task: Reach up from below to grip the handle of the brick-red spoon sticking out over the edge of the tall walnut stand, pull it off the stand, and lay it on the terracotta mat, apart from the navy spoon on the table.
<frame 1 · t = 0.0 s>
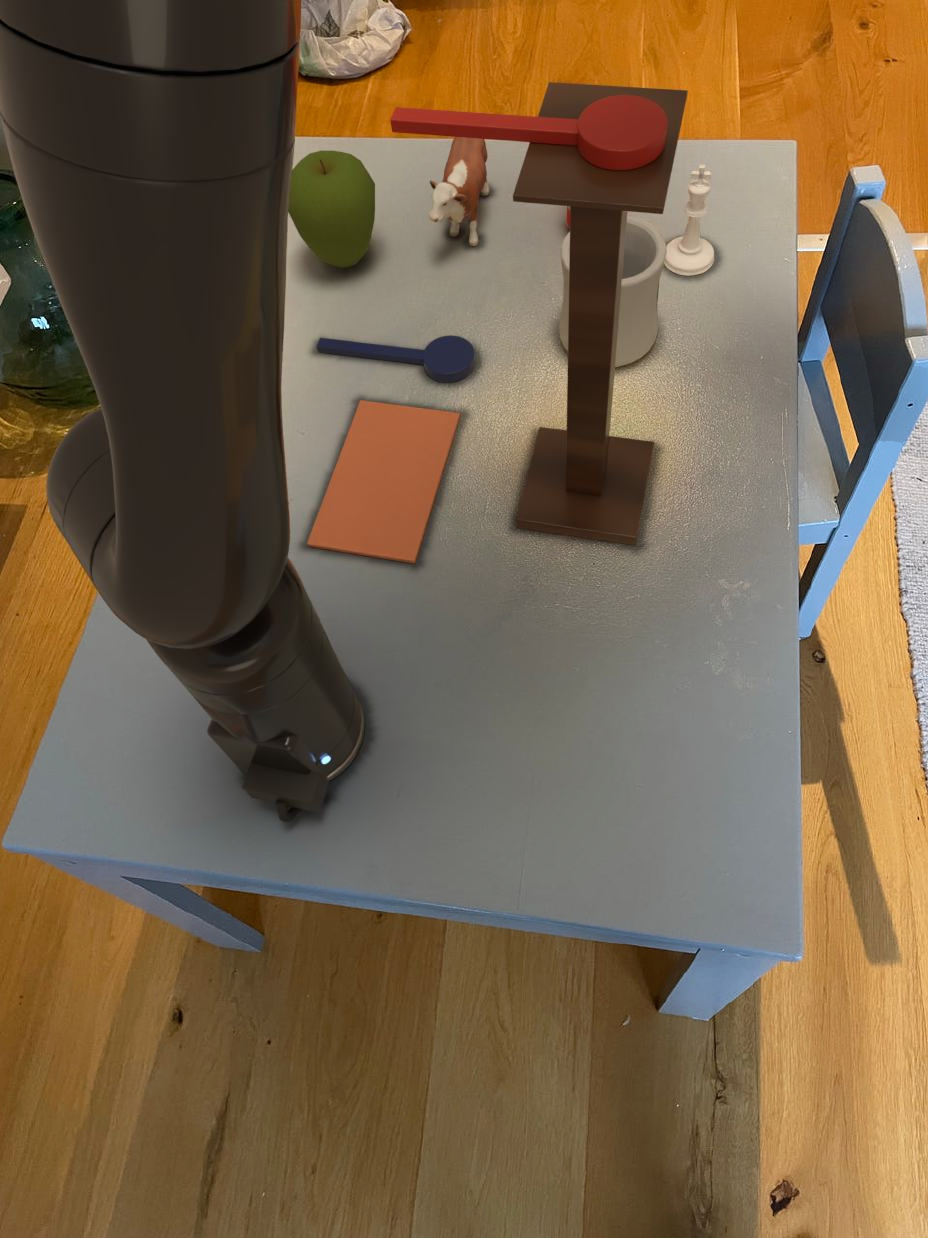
apple: (346, 262, 95), on the table
spoon stand: (585, 488, 79), on the table
beverage can: (592, 229, 94), on the table
bull figurine: (466, 225, 96), on the table
terracotta mat: (386, 478, 81), on the table
navy spoon: (449, 363, 87), on the table
mug: (599, 325, 88), on the table
chess piece: (687, 259, 91), on the table
red spoon: (621, 142, 51), point 32 cm above the table, touching spoon stand
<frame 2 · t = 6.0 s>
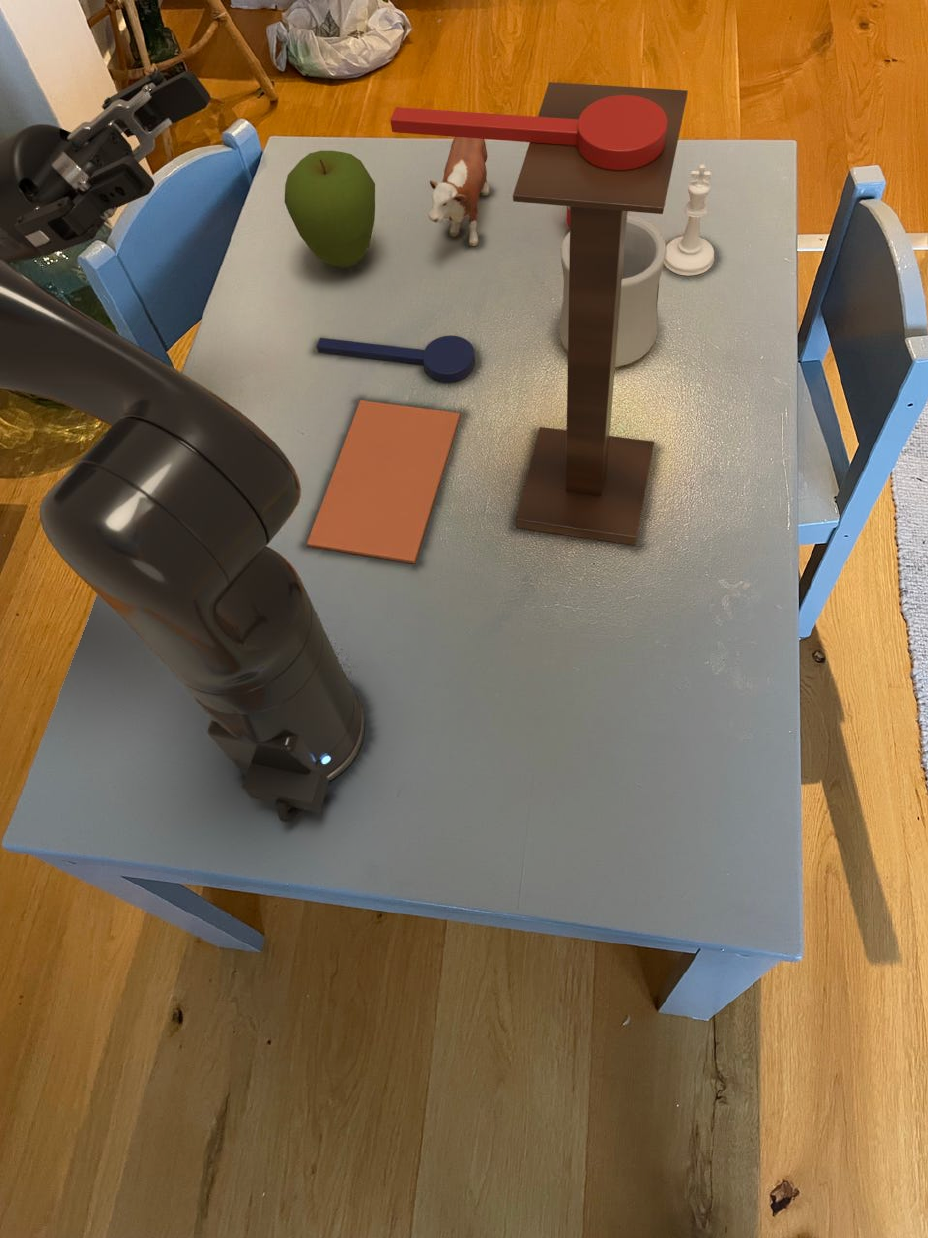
hand: (172, 128, 58), 30 cm above the table, tool pointing upward, fingers open, 8 cm apart
nothing on the table moved.
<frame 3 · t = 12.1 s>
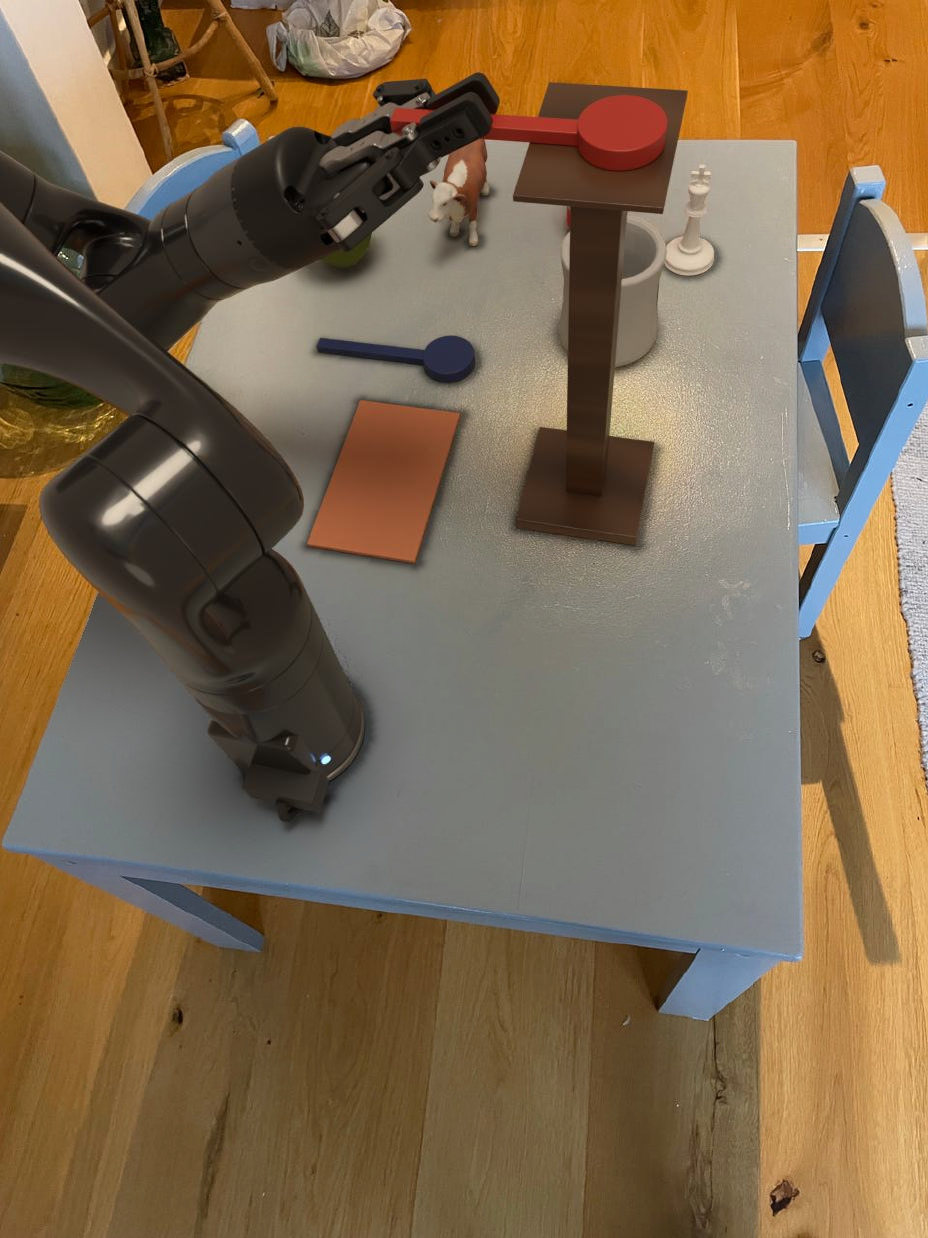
hand: (486, 100, 51), 34 cm above the table, tool pointing upward, fingers closed on red spoon, 1 cm apart
red spoon: (620, 142, 51), point 32 cm above the table, touching gripper, spoon stand
everything else where it was.
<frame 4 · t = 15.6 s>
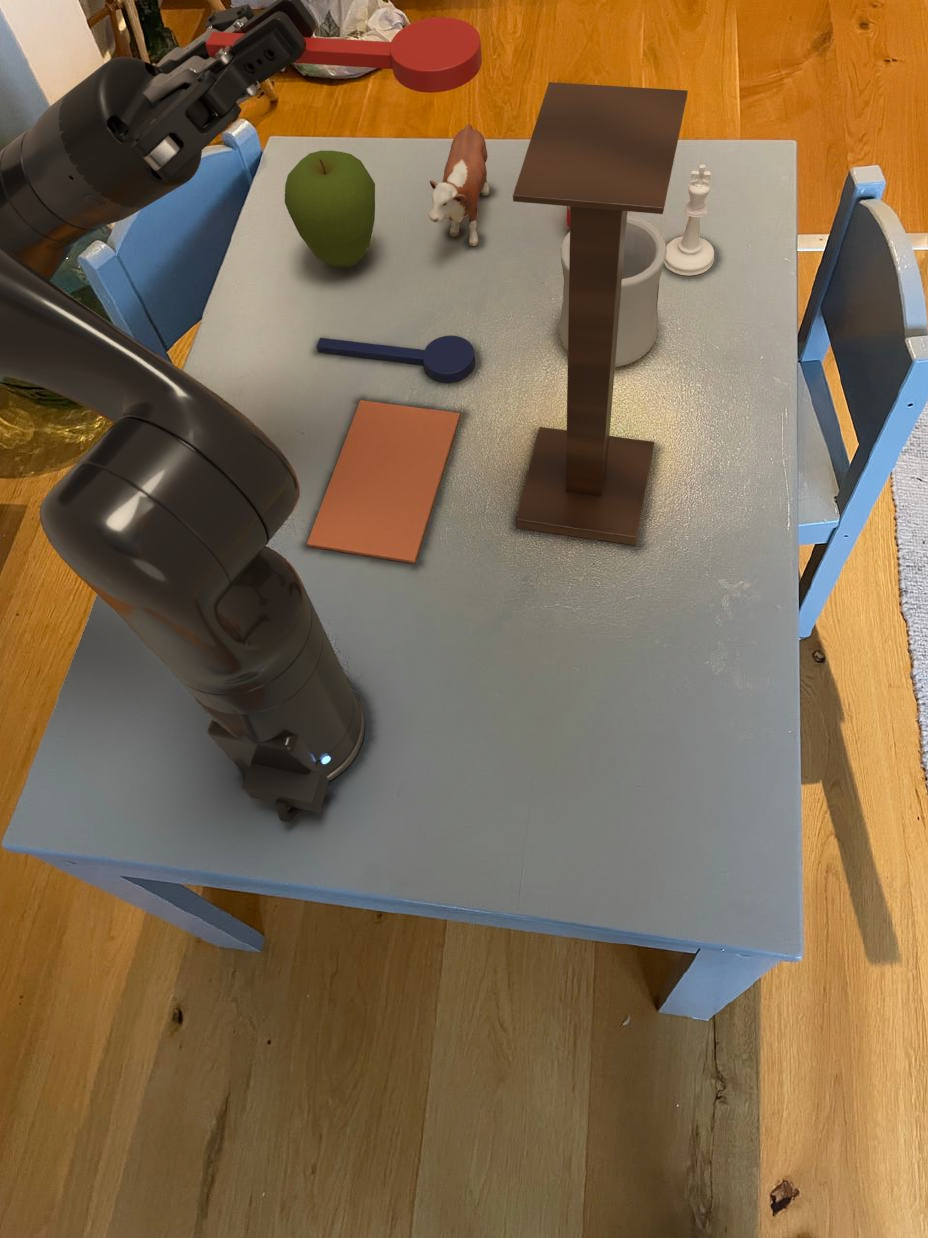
hand: (298, 21, 49), 38 cm above the table, tool pointing upward, fingers closed on red spoon, 1 cm apart
red spoon: (437, 65, 50), point 36 cm above the table, touching gripper
everything else where it was.
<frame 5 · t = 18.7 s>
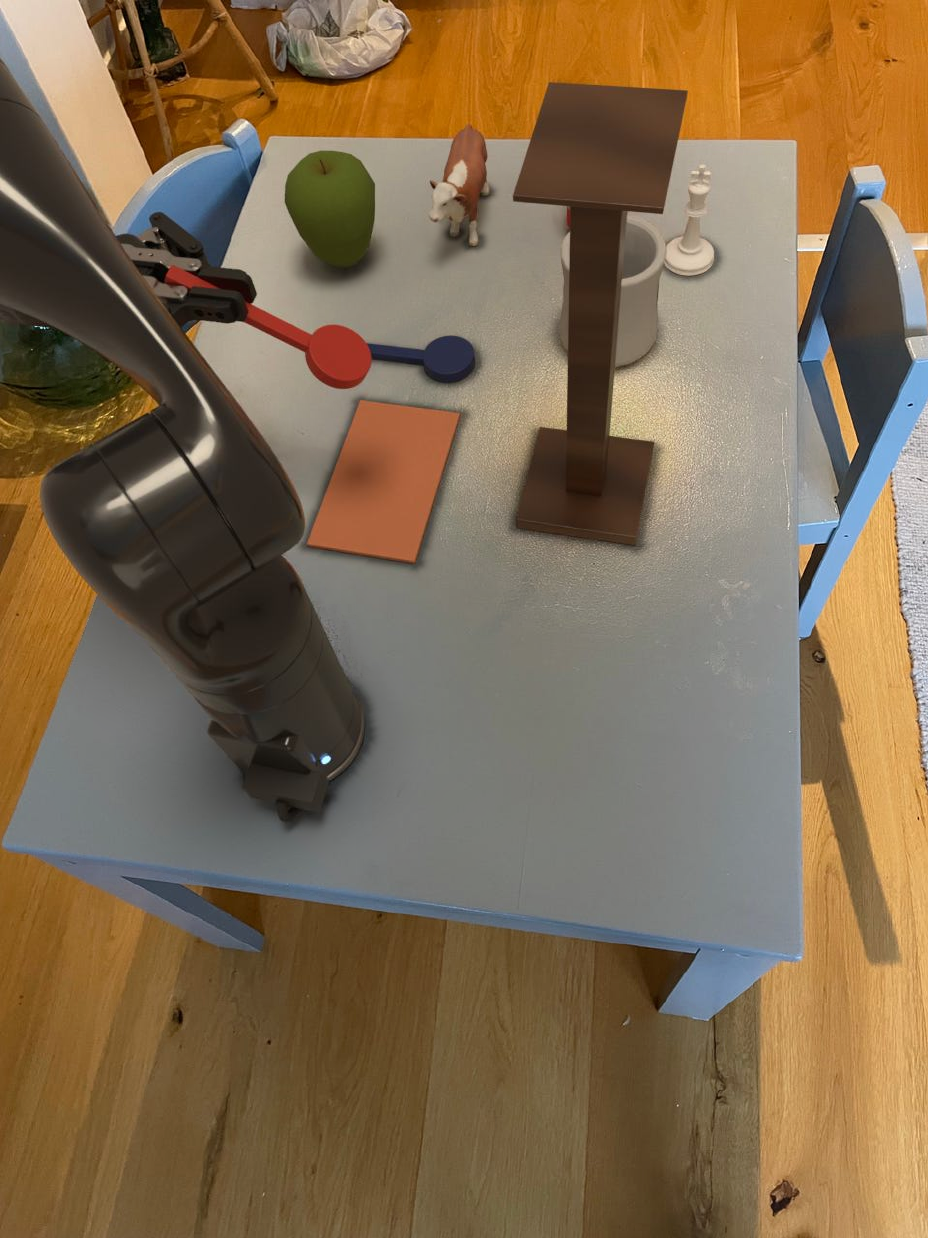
hand: (247, 297, 66), 20 cm above the table, tool horizontal, fingers closed on red spoon, 1 cm apart
red spoon: (336, 361, 69), point 14 cm above the table, tilted 30°, touching gripper
everything else where it was.
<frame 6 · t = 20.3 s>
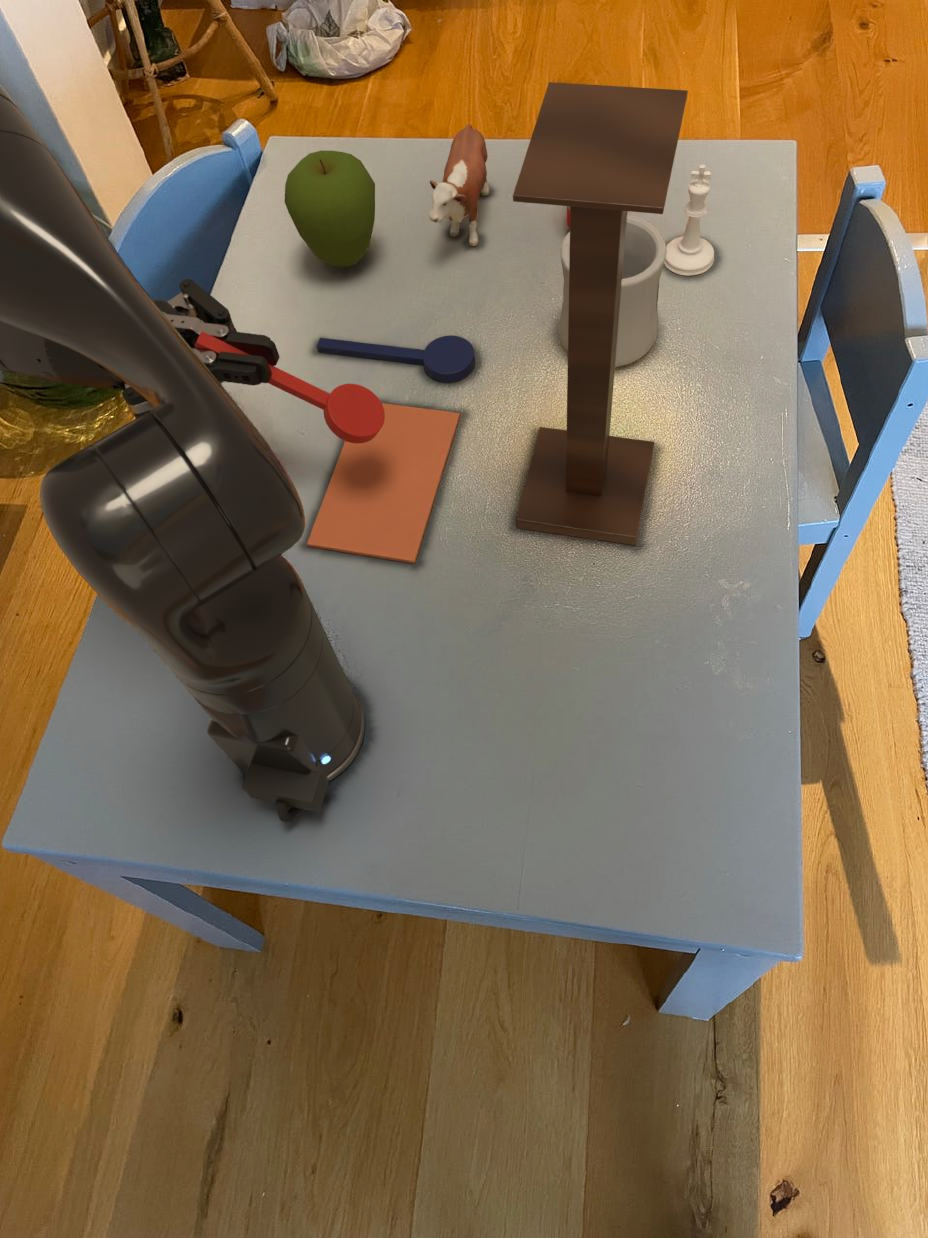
hand: (271, 361, 71), 13 cm above the table, tool horizontal, fingers closed on red spoon, 1 cm apart
red spoon: (352, 417, 75), point 8 cm above the table, tilted 30°, touching gripper
everything else where it was.
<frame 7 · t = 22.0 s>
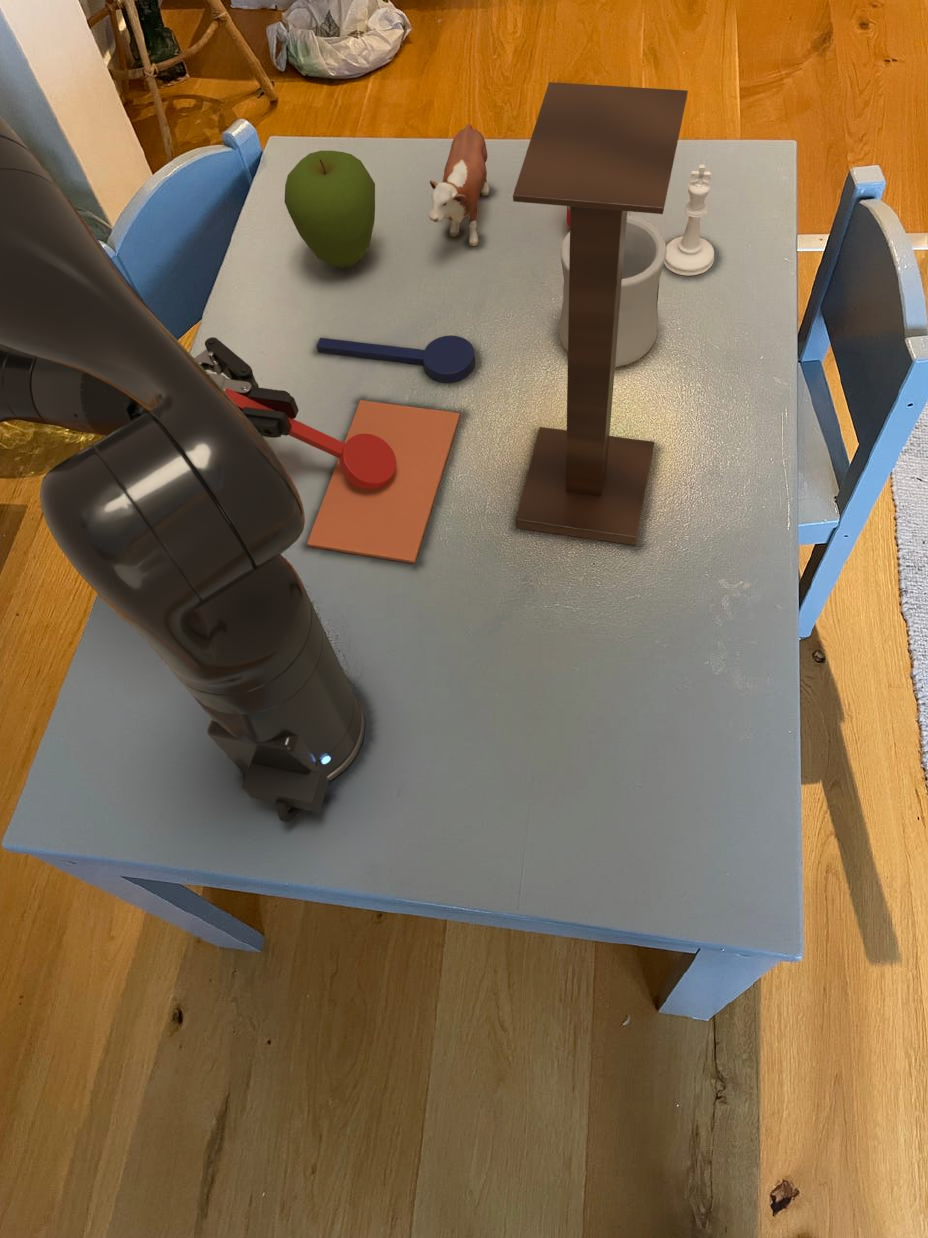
hand: (291, 415, 77), 7 cm above the table, tool horizontal, fingers closed on red spoon, 1 cm apart
red spoon: (365, 464, 80), point 2 cm above the table, tilted 30°, touching gripper, terracotta mat
everything else where it was.
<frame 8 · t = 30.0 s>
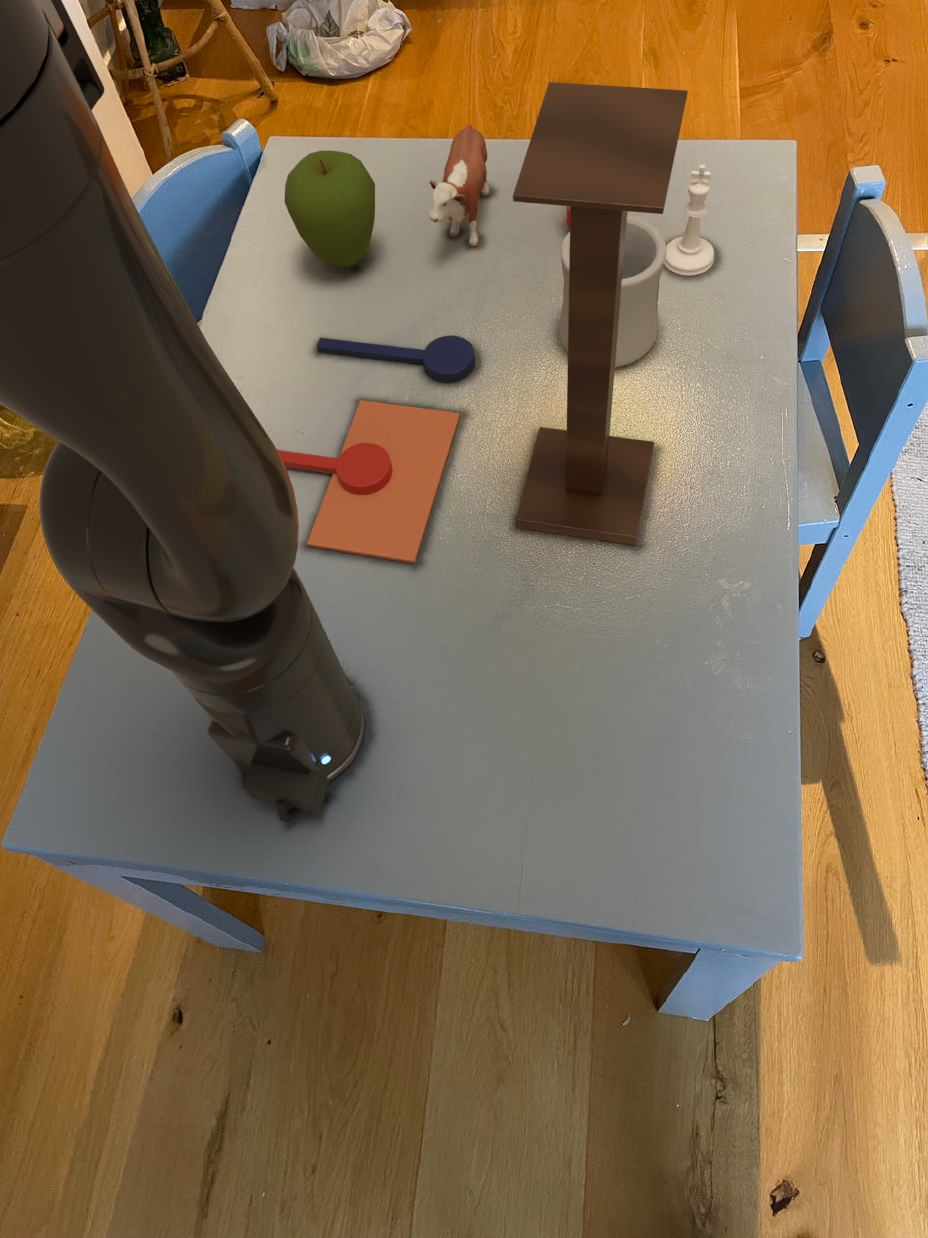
hand: (27, 170, 57), 30 cm above the table, tool pointing down, fingers open, 8 cm apart
red spoon: (365, 472, 81), on the table, touching terracotta mat
everything else where it was.
at the end: red spoon inside the target area on the terracotta mat (1.9 cm from its centre), point 0.4 cm above the terracotta mat's base; the gripper is holding nothing; navy spoon moved 0.0 cm from its start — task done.
